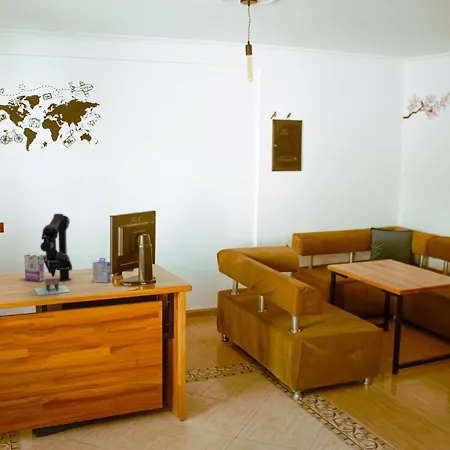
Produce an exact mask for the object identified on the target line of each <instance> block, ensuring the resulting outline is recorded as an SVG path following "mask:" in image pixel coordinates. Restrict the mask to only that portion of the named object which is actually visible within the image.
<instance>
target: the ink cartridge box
mask: <svg viewBox="0 0 450 450" xmlns="http://www.w3.org/2000/svg"><path fill="white" fill-rule="evenodd" d="M111 264H112V263H111V261H106V257H99V259H98V261H94V262H93V263H92V282H94V283H109V282H111V281H112V275H111V267H112V266H111Z"/></svg>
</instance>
